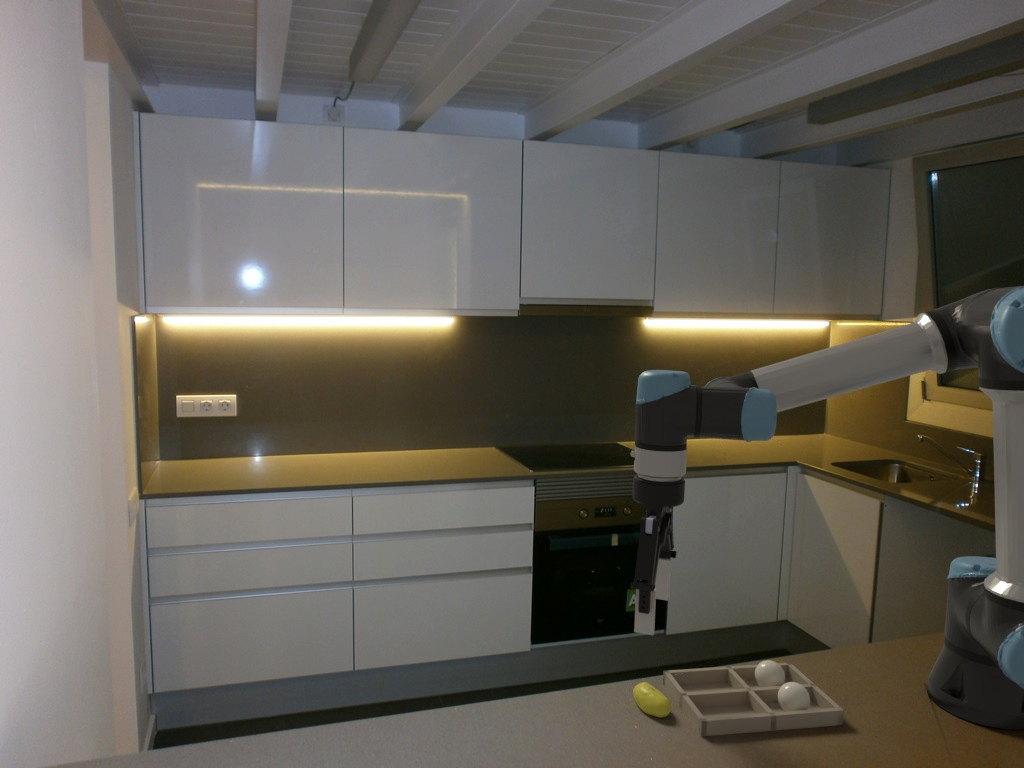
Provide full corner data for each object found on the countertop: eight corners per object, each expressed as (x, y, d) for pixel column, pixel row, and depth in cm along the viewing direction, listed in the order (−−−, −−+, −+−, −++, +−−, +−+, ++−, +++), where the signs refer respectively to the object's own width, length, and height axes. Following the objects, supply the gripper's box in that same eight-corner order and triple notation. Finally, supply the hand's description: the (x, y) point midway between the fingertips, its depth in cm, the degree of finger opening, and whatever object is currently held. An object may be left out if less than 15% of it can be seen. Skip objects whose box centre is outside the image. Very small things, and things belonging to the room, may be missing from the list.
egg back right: (784, 685, 121) (786, 658, 121) (784, 699, 117) (785, 670, 116) (754, 680, 123) (756, 653, 122) (753, 693, 119) (754, 665, 118)
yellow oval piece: (649, 696, 118) (650, 673, 118) (677, 723, 111) (678, 698, 111) (625, 701, 117) (626, 677, 117) (652, 728, 109) (653, 702, 109)
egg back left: (809, 708, 114) (810, 679, 114) (809, 723, 110) (811, 694, 110) (777, 702, 116) (778, 674, 115) (776, 717, 112) (778, 687, 111)
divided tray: (789, 678, 125) (790, 662, 125) (842, 728, 110) (843, 710, 110) (662, 687, 121) (663, 670, 121) (700, 740, 106) (701, 721, 106)
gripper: (649, 457, 123) (643, 583, 125) (614, 491, 100) (608, 644, 102) (695, 462, 121) (689, 589, 123) (671, 497, 97) (664, 654, 100)
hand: (652, 615), depth 112 cm, fingers open, 13 cm apart
